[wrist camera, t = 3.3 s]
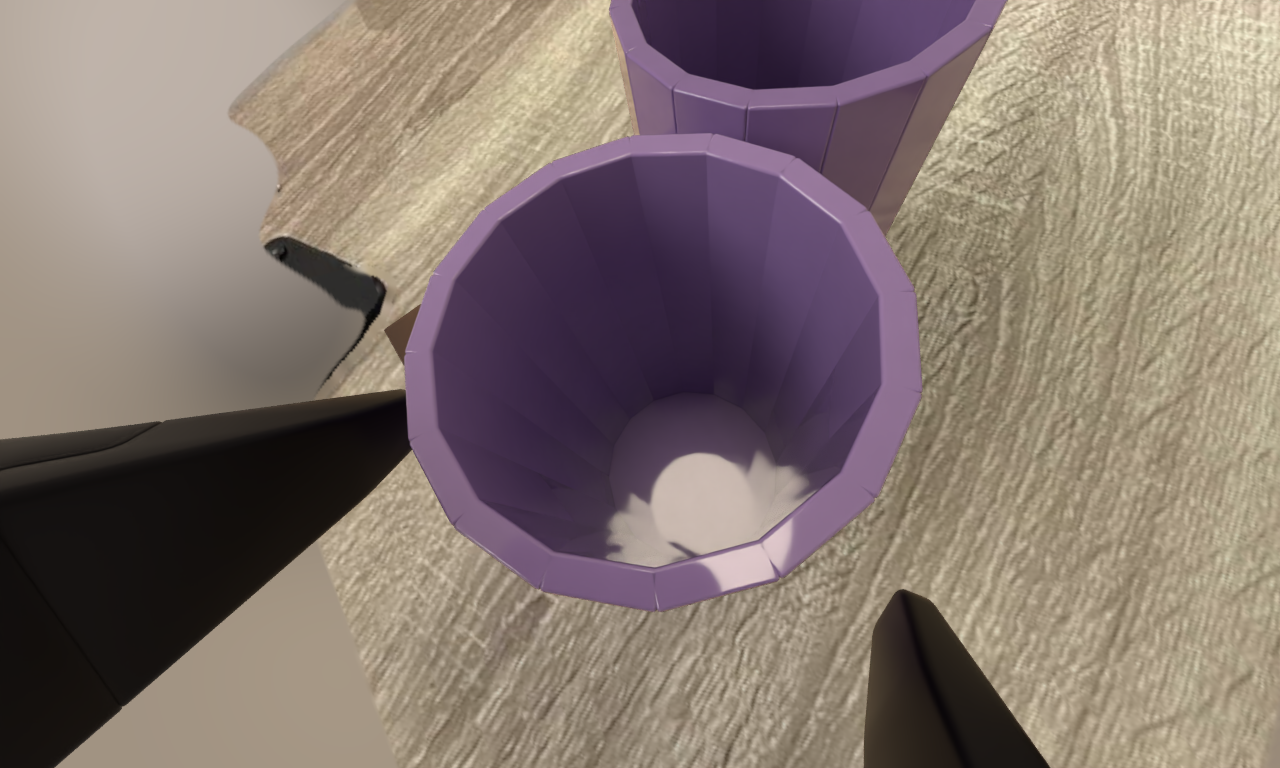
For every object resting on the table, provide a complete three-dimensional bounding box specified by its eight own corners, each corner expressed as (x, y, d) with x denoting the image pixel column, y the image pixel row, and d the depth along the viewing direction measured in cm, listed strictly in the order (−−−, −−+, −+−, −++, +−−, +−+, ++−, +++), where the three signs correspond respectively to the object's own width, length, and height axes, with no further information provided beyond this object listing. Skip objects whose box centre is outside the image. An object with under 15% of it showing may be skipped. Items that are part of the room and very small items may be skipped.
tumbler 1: (745, 415, 18) (789, 178, 7) (640, 300, 20) (545, -8, 9) (876, 311, 18) (1120, -67, 7) (759, 212, 21) (805, -177, 10)
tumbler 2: (676, 614, 16) (569, 758, 5) (569, 458, 18) (336, 307, 7) (827, 489, 16) (1060, 346, 5) (703, 355, 19) (681, 68, 8)
